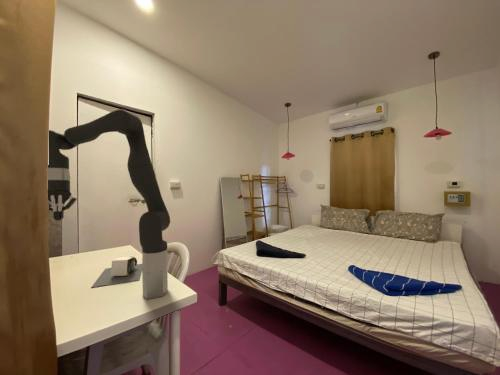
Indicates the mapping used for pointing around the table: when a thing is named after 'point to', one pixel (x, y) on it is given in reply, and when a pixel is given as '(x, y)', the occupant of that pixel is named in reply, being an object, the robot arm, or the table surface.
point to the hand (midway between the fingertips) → (58, 220)
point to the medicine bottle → (123, 266)
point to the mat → (117, 277)
